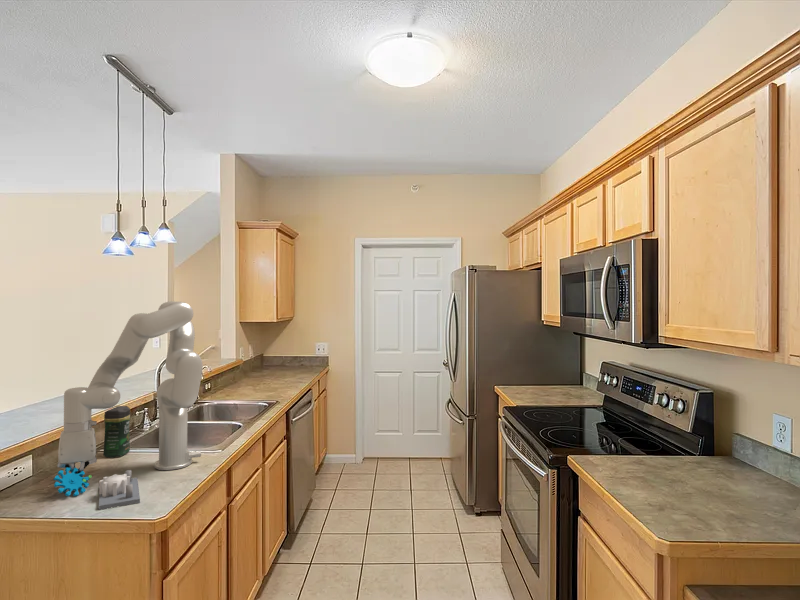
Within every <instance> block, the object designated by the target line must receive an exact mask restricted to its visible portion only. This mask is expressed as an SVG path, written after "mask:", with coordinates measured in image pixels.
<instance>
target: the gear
mask: <svg viewBox="0 0 800 600" xmlns="http://www.w3.org/2000/svg"><path fill="white" fill-rule="evenodd" d="M78 469H79V468H77V467H76V468H74V469H73V472H72V473H71V472H70V468H64V470H63V469H61V470H59V471H58V472H57V474H56V475H55V477H54V478H53V481H55V482H54V484H53V487H54V488H57V487H59V488H58V489H57V492H58V493H59V494H62V493H64V496H66V497H70V496H71V494H72V492H73V491H74V492H73V494H72V496H73V497H78V496H79V494H80V493H81V494H84V493H85V492H87V488H88V487H89V485H90V483H89V482H88V481H90V480H91V478H92V477H93V476H92V474H89V475H88V476H85V477H84V475H86V473H85V471H84V470H83V471H81V472H80V473H79V474H75V473H76V472H78ZM64 472H65V473H64ZM80 476H83V477H80Z"/></svg>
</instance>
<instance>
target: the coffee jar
mask: <svg viewBox="0 0 800 600" xmlns="http://www.w3.org/2000/svg"><path fill="white" fill-rule="evenodd" d="M103 419H104V420H103V421H104V439H103V440H104V442H103V457H106V458H110V459H115V458H116V457H123V456H125V455H126V454H128V453H129V452H130V451H131V450H130V449H131V448H130V446H131V445H130V444H131V441H130V421H131V408H130V407H128V406H127V405H117V406H114V407H112V408H109V409H107V410H105V412H104V416H103Z"/></svg>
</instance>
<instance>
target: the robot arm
mask: <svg viewBox="0 0 800 600" xmlns="http://www.w3.org/2000/svg"><path fill="white" fill-rule="evenodd" d="M193 317H194V309H193V307H192V306H191V305H190V304H189V303H187V302H185V301H175V300H173V301H172V300H171V301H165V302H163V303H162V304H160V305H159V307H158V310H156V311H152V312H149V313H146V312H145V313H144V312H143V313H142V312H141V313H135V314H134V315H132V316H131V317H130V318H129V319H128V321H127V322H126V325H125V326H124V329H122V332H121V334H120V336H119V338H118V340H117V341H116V343H115V345H114V347H113V348H112V350H111V352H110V353H109V355H107V357H106V358H105V360H104V361H103V362H102V363H101V364H100V366H99V368H98V369H97V370H96V372H95V374H94V375H93V377H92V379H91V380H90V383H89V385H88V387H87V386H86V387H85V386H84V387H83V386H79V387H77V386H76V387H71V388H68V389H66V390H65V391H64V394H63V430H62V431H61V432H60V436H59V442H58V452H57V455H58V457H57V460H58V462H57V465H56V467H57V468H62V469H66V468H70V471H69V473H72V472H73V469H74V468H77V467H76V463H79V467H78V468H77V469H78V471H77V472H76V473H75V474H79V473H80V472H81V471H84V470H85V469H86V468H87V467H88V466H90V465H93V464H95V463H97V461H98V459H97V438H96V431H95V428H94V426H97V420H92V409H93V410H101V409H103V410H106V409H107V410H108V409H112V408H114V407H116V405H117V404H119V402H120V400H121V392H120V391H119V389H118V388H116V387H115V385H116V383H117V382H118V379H119V378H120V377H121V375H122V374H123V373H124V372H125V371H126V370H127V369H129V368H130V367H132V366H133V365H135V364H136V363H137V362H138V361H139V358H140V357H141V355H142V353H143V351H144V350H145V348H146V344H147V343H148V341H149V339H153V338H157V337H159V336H162V335H165V334H168V333H169V343H168V348H167V353H166V358H165V369H166V370H167V372H168V373H170V374H172V375H174V376H173V377H172V378H167V379H165V380H163V381H162V382H161V383H160V384H159V386H158V388H157V390H156V391H157V392H156V398H157V406H158V460H156V461H155V462H154V463H153V467H154V469H156V470H158V471H159V470H160V471H173V470H179V469H183V468H186V467H188V466H189V465H192V461H193V460H192V458H200V457H201V458H202V452H201V451H197V450H193V451H189V449H188V420H189V416H188V408H190V407H191V406H193V405H194V404H195V402H196V400H197V399H198V396H199V391H200V386H201V380H202V376H203V375H202V374H203V367H204V366H203V360H202V358H201V356H200V355H199V354H198V353H197V352H195V351H194V346H195V339H196V337H195V336H196V332H195V327H194V324H193V322H192V320H193ZM80 477H84V476H80Z"/></svg>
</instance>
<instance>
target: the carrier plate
mask: <svg viewBox="0 0 800 600" xmlns="http://www.w3.org/2000/svg"><path fill="white" fill-rule="evenodd" d="M98 483H99V488H98V490H99V491H98V492H99V499H98V511H101V509H102V510H107V508H108V509H112V508H111V507H113V508H117V506H119V507H124V506H123V505H125V506H130V505H135V503H136V504H140V503H141V496H140V489H139V480H138V477H132V469H127V470H125V471H124V474H113V475H111V476H104V477H102V479H99V482H98ZM129 504H130V505H129Z"/></svg>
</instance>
